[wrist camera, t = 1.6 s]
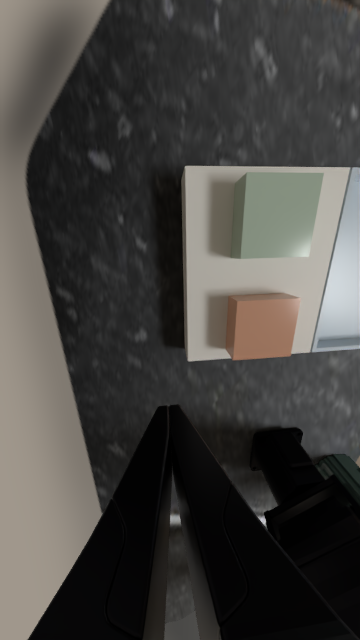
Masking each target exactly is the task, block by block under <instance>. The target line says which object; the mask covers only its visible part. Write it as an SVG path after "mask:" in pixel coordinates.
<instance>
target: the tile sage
mask: <svg viewBox="0 0 360 640" xmlns="http://www.w3.org/2000/svg"><path fill="white" fill-rule="evenodd" d="M323 176H324V173H280V172H247V173H246V174H244V175H243V176H242V177H241V178H240V179H239V180H238V181H237V182H236V183H235V190H234V208H233V225H232V243H231V258H235V259H252V258H284V257H309V252H310V247H311V241H312V236H313V230H314V225H315V219H316V214H317V208H318V203H319V197H320V192H321V187H322V181H323Z"/></svg>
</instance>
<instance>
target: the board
mask: <svg viewBox="0 0 360 640" xmlns="http://www.w3.org/2000/svg"><path fill="white" fill-rule="evenodd" d="M349 171H350V167H246V166H185V168H184V172H183V175H182V179H181V186H182V236H183V285H184V335H185V352H186V356H187V359H188V361H199V360H213V359H226V358H231V357H230V355H229V354H228V352H227V351H226V349H225V348H226V330H227V313H228V296H233V295H255V294H276V293H286V294H290V295H293V296H296V297H299V298H301V301H300V307H299V312H298V318H297V323H296V329H295V334H294V340H293V345H292V351H291V354H294V353H307V352H310V349H311V345H312V340H313V336H314V331H315V326H316V322H317V317H318V313H319V308H320V304H321V299H322V294H323V290H324V285H325V281H326V276H327V272H328V267H329V262H330V258H331V253H332V249H333V244H334V239H335V235H336V230H337V226H338V221H339V217H340V212H341V207H342V203H343V198H344V194H345V189H346V185H347V180H348V175H349ZM247 172H280V173H324V176H323V181H322V187H321V192H320V197H319V203H318V208H317V214H316V219H315V225H314V230H313V236H312V241H311V247H310V252H309V257H284V258H252V259H235V258H231V243H232V225H233V208H234V190H235V183H236V182H237V181H238V180H239V179H240V178H241V177H242V176H243V175H244V174H246V173H247Z"/></svg>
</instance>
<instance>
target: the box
mask: <svg viewBox="0 0 360 640" xmlns="http://www.w3.org/2000/svg"><path fill="white" fill-rule="evenodd" d="M348 349H360V168H351V169H350V171H349V175H348V180H347V185H346V189H345V194H344V198H343V203H342V207H341V212H340V217H339V221H338V226H337V230H336V235H335V239H334V244H333V249H332V253H331V258H330V262H329V267H328V272H327V276H326V281H325V285H324V290H323V294H322V299H321V304H320V308H319V313H318V317H317V322H316V326H315V331H314V336H313V340H312V345H311V349H310V351H311V352H321V351H335V350H348Z"/></svg>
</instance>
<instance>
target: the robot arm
mask: <svg viewBox="0 0 360 640" xmlns="http://www.w3.org/2000/svg"><path fill="white" fill-rule="evenodd" d="M169 415H170V419H169ZM170 433H171V437H170ZM302 436H303V432H302V431H301V429H290V430H280V431H271V432H262V433H256V434H255V435H254V437H253V445H252V452H251V460H250V468H251V470H252V471H257V470H262V472H263V474H264V477H265V479H266V481H267V483H268V485H269V487H270V489H271V492H272V494H273V496H274V498H275V500H276V502H277V504H278V506H277V507H275V508H274V509H272V510H270V511H266V512H264V516H265V519H266V525H267V529H268V530H267V529H266V527H265V526H264V525H263V524H262V522H261V521H260V520H259V519H258V517H257V516H256V515H255V513H254V512H253V510H252V509H251V508H250V506H249V505H248V504H247V502H246V501H245V499H244V498H243V497H242V495H241V494H240V492H239V491H238V489H237V488H236V486H235V485H234V484H232V481H231V479H230V478H229V476H228V475H227V473H226V472H225V470H224V469H223V468H222V466H221V465H220V463H219V462H218V460H217V459H216V457H215V456H214V454H213V453H212V451H211V450H210V449H209V447H208V446H207V444H206V443H205V441H204V440H203V438H202V437H201V435H200V434H199V432H198V431H197V429H196V428H195V427H194V425H193V424H192V422H191V421H190V419H189V418H188V416H187V415H186V413H185V412H184V410H183V409H182V408H181V406H180V405H178V404H177V405H170V406H167V405H166V406H159V407H158V408H157V410H156V412H155V414H154V415H153V417H152V419H151V421H150V423H149V425H148V427H147V429H146V431H145V433H144V435H143V437H142V439H141V441H140V443H139V445H138V447H137V449H136V450H135V452H134V454H133V456H132V458H131V460H130V462H129V464H128V466H127V468H126V470H125V472H124V474H123V476H122V478H121V480H120V482H119V484H118V485H117V487H116V489H115V491H114V493H113V495H112V499H111V500H110V501H109V503H108V505H107V507H106V509H105V511H104V512H103V514H102V516H101V518H100V520H99V522H98V524H97V526H96V527H95V529H94V531H93V533H92V535H91V537H90V538H89V540H88V542H87V544H86V545H85V547H84V549H83V550H82V552H81V554H80V555H79V557H78V559H77V560H76V562H75V564H74V565H73V567H72V569H71V571H70V572H69V574H68V575H67V577H66V579H65V580H64V582H63V583H62V585H61V587H60V588H59V590H58V592H57V593H56V595H55V596H54V598H53V600H52V601H51V603H50V604H49V606H48V608H47V610H46V611H45V613H44V614H43V616H42V617H41V619H40V621H39V622H38V624H37V626H36V627H35V629H34V631H33V632H32V634H31V635H30V637H29V639H28V640H164V631H165V611H166V590H167V570H168V549H169V529H170V508H171V488H172V466H173V475H174V482H175V488H176V494H177V500H178V507H179V513H180V519H181V525H182V531H183V537H184V543H185V550H186V556H187V562H188V568H189V574H190V580H191V586H192V593H193V599H194V605H195V611H196V617H197V623H198V629H199V636H200V640H360V506H359V505H358V503H357V502H356V501H355V500H354V498H353V497H352V496H351V495H350V493H349V492H348V491H347V490H346V488H345V487H344V486H343V485H342V483H341V482H340V481H339V480H338V478H337V477H336V476H335V475H334V474H332V475H330V477H329V478H328V479H326V480H325V479H324V477H323V476H322V475H321V473H320V472H319V471H318V469H317V468H316V466H315V465H314V462H313V461H312V459H311V458H310V457H309V455H308V454H307V453H306V451H305V450H304V448H303V447H302V446H301V440H302ZM171 450H172V455H171ZM349 503H350V504H351V506H347V504H349Z"/></svg>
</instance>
